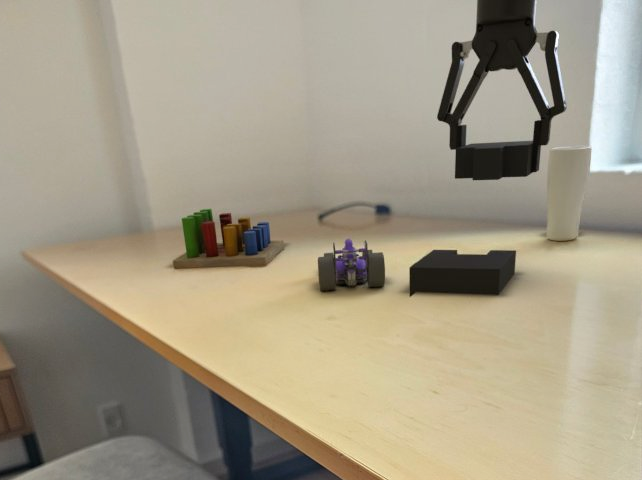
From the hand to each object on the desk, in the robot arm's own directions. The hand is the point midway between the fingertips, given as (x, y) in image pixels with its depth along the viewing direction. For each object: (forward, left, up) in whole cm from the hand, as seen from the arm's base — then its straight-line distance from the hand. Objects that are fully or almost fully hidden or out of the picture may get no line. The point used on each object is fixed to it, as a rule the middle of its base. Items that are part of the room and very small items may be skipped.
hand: (496, 172), depth 96 cm
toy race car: (+19, +11, -14) cm, 26 cm away
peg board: (+49, -3, -14) cm, 51 cm away
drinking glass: (-8, -24, -14) cm, 29 cm away
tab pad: (0, +1, 0) cm, 1 cm away
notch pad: (+1, +13, -14) cm, 19 cm away
